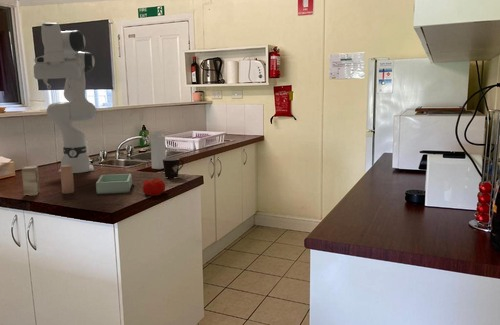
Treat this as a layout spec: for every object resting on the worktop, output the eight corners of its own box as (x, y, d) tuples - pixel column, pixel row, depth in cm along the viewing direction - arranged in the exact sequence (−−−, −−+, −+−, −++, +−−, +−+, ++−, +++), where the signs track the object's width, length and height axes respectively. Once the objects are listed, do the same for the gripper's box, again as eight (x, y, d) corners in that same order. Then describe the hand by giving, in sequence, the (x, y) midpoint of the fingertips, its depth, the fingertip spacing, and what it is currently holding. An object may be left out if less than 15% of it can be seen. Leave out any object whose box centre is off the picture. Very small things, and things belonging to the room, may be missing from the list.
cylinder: (63, 191, 188) (61, 165, 186) (75, 190, 189) (73, 164, 187) (61, 193, 183) (58, 167, 181) (73, 193, 184) (71, 166, 182)
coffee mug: (164, 180, 211) (164, 160, 210) (161, 176, 219) (161, 158, 217) (187, 178, 215) (186, 159, 214) (183, 175, 223) (182, 157, 222)
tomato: (143, 198, 176) (142, 183, 175) (142, 192, 186) (141, 178, 185) (166, 196, 179) (166, 181, 178) (164, 190, 189) (163, 176, 188)
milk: (151, 168, 243) (149, 131, 240) (158, 166, 249) (157, 130, 245) (159, 169, 240) (157, 131, 237) (166, 167, 246) (164, 130, 242)
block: (27, 193, 185) (25, 166, 183) (39, 192, 186) (37, 166, 184) (24, 195, 180) (21, 168, 178) (36, 195, 181) (34, 168, 179)
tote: (102, 184, 200) (101, 174, 200) (131, 183, 203) (131, 173, 202) (96, 193, 183) (95, 182, 182) (129, 192, 186) (128, 181, 185)
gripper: (79, 57, 200) (83, 86, 203) (34, 59, 195) (39, 89, 199) (77, 57, 194) (81, 87, 197) (30, 59, 189) (35, 89, 193)
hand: (59, 88), depth 198 cm, fingers open, 8 cm apart
